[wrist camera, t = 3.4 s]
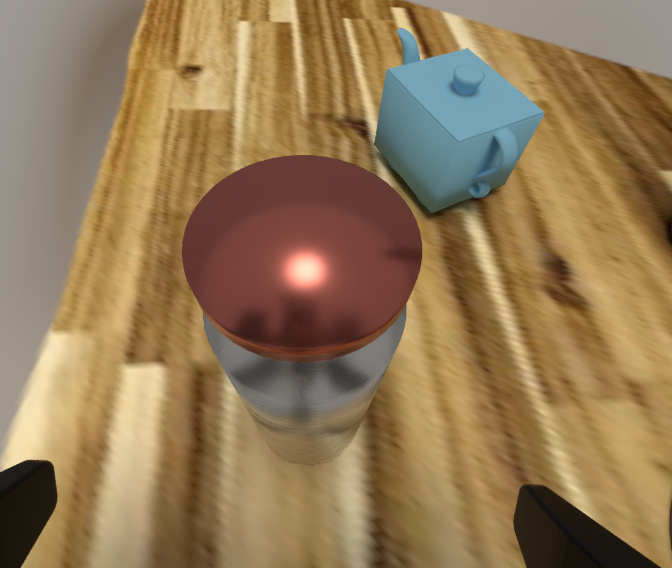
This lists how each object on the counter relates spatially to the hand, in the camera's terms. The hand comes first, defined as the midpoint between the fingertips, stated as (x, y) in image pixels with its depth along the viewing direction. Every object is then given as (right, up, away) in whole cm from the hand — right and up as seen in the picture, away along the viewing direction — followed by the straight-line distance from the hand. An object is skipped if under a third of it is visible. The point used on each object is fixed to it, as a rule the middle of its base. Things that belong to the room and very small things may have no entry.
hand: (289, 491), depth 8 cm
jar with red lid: (0, -2, +12) cm, 12 cm away
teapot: (+8, +12, +21) cm, 26 cm away
